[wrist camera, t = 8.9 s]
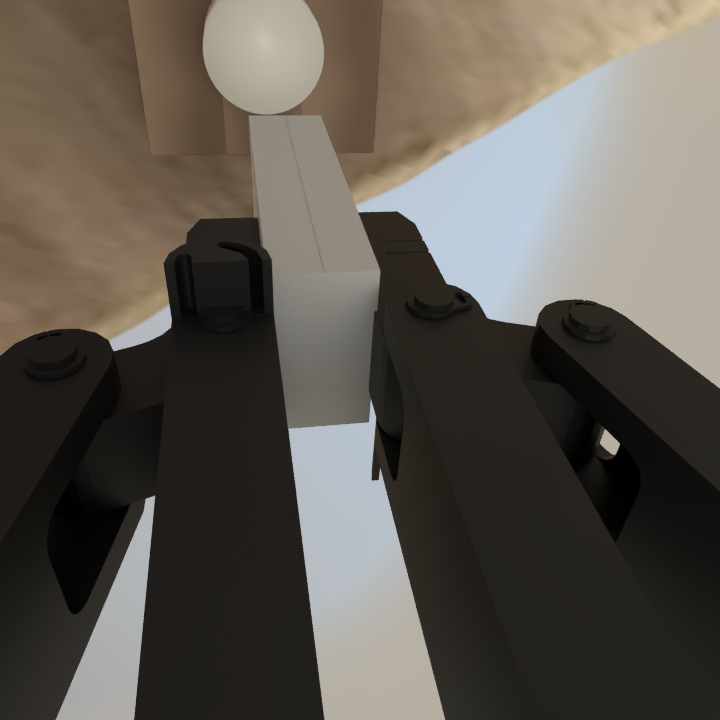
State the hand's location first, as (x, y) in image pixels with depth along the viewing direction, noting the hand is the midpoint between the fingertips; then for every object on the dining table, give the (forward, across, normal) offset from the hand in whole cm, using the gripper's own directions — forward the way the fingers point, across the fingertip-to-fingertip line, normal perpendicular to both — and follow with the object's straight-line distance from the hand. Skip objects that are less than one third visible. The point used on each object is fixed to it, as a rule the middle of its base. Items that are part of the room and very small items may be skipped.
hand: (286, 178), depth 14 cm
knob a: (+21, 0, 0) cm, 21 cm away
